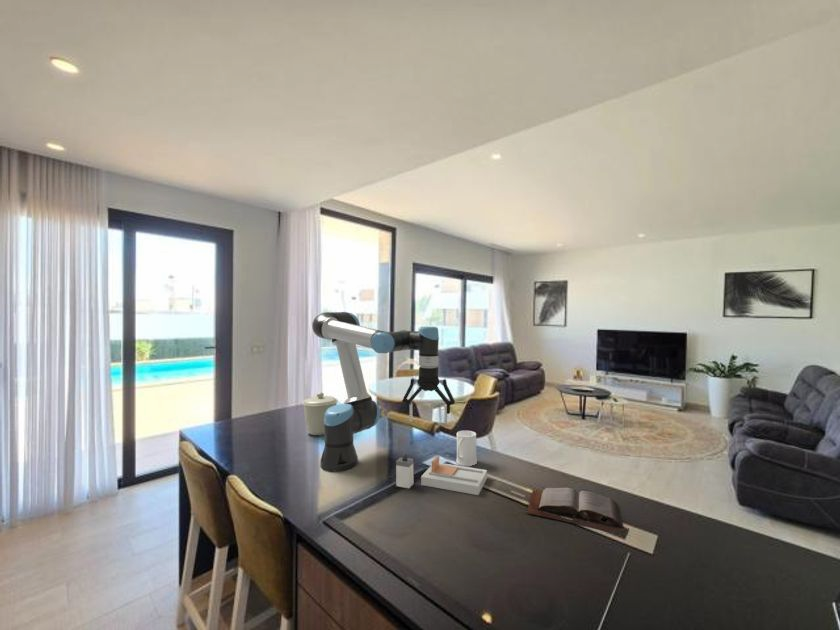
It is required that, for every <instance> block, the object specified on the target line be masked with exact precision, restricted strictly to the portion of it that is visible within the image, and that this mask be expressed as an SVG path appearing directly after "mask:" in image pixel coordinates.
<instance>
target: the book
mask: <svg viewBox="0 0 840 630" xmlns="http://www.w3.org/2000/svg"><path fill="white" fill-rule="evenodd" d="M526 514H530V515H535V516H538V517H544V518H548V519H554V520H557V521H561V522H562V521H563V522H566V523H570V524H574V525H575V524H576V525H578V526H579V525H580V526H583V527H588V528H592V529H598V530H602V531H606V532H610V533H615V534H624V533H625V532H626V530H622V529H625V528H624V523H623V520H622V516H621V511H620V508H619V504H618V503H617V502H616V501H615V500H614V499H612V498H610V497H606V495H605V496H604V495H600V494H598V493H595V492H592V491H588V490H586V491H585V490H581V491H579V492H578V491H577V490H576V489H574V488H570V487H546V488H544V489H543V490H542V491H539V490H537V489H536V490H535V489H533V490H532V492H531V496H530V500H529V502H528V507H527V510H526ZM602 518H606V520H605V521H603V520H602ZM615 528H616V529H615ZM614 529H615V530H614ZM620 529H621V530H620ZM625 536H629V537H630V534H626V533H625Z"/></svg>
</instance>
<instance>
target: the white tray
mask: <svg viewBox="0 0 840 630" xmlns="http://www.w3.org/2000/svg"><path fill="white" fill-rule="evenodd" d="M439 465H443V466H449V467H455V468H457V470H456V472H455V473H454V475H453V476H451V475H445V474H439V473H433V472H431V471H432V464H431V465H429V467H428V469H427V470H426V471H425V472H424V473H423V474H422V475H421V476H420V485H421V486H425V487H431V488H437V489H442V490H446V491H447V490H448V491H452V492H458V493H464V494H470V495H474V496H480V493H481V491H482V490H483V487H484V485H485V483H486V481H487V479H488V470H487V469H482V468H475V467H471V466H461V465H458V464H457V465H456V464H450V463H443V462H439Z"/></svg>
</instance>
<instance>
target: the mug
mask: <svg viewBox="0 0 840 630" xmlns="http://www.w3.org/2000/svg"><path fill="white" fill-rule="evenodd" d="M456 463H458V464H457V465H459V464H460V465H459V466H461V465H464V467H473V466H472V465H474V466H475V464H476V465H477V463H478V460H477V432H475V431H474V430H473V431H472V430H459V431H457V432H456Z"/></svg>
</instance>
